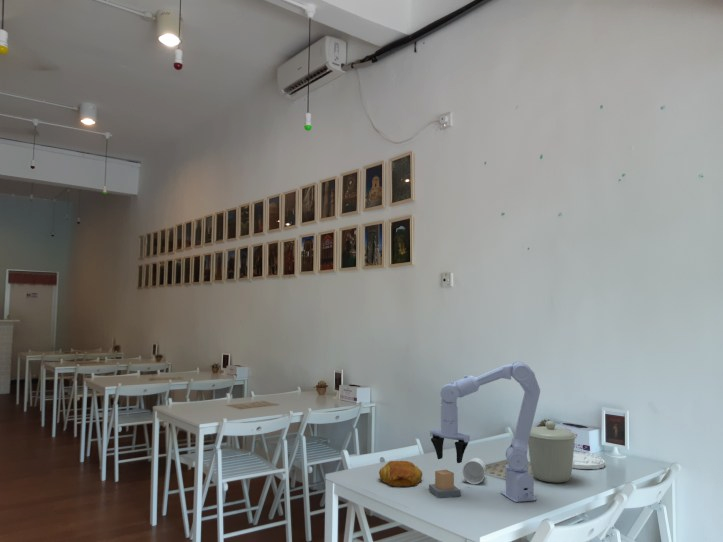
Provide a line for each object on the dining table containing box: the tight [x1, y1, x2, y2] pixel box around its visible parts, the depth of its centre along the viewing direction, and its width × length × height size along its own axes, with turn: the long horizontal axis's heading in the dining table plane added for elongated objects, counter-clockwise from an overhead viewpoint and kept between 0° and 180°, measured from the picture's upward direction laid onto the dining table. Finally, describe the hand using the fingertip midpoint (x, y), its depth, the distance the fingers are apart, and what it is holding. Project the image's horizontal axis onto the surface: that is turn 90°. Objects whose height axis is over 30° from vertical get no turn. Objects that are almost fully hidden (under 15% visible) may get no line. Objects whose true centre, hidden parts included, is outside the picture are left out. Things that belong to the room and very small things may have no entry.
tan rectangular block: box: [434, 469, 455, 490], centre depth 182 cm, size 4×4×5 cm
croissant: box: [378, 460, 423, 487], centre depth 195 cm, size 14×16×8 cm
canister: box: [528, 420, 577, 484], centre depth 201 cm, size 18×18×21 cm
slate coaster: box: [428, 483, 462, 499], centre depth 182 cm, size 8×8×2 cm
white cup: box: [461, 457, 487, 485], centre depth 198 cm, size 8×8×10 cm
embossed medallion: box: [572, 451, 606, 471], centre depth 222 cm, size 20×20×3 cm
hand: (449, 460), depth 185 cm, fingers open, 7 cm apart
